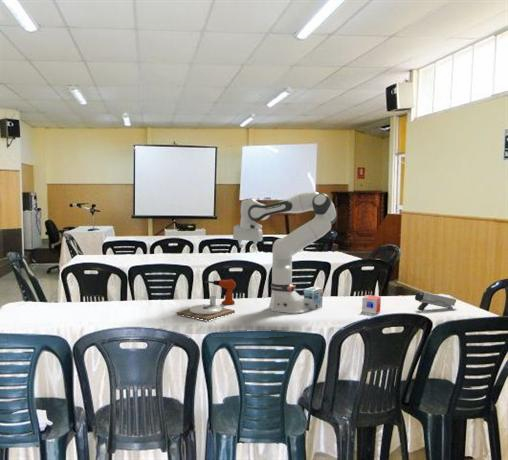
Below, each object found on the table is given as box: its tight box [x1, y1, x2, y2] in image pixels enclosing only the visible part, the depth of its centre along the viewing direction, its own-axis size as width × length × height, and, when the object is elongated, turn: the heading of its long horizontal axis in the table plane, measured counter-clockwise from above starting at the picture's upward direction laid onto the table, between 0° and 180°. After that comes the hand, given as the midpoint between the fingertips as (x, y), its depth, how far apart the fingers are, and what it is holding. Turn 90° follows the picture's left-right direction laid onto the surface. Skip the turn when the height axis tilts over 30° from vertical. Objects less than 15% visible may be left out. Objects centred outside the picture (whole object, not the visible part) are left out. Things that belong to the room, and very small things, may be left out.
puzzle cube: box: [361, 294, 382, 314], centre depth 265 cm, size 8×8×8 cm
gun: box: [414, 291, 457, 311], centre depth 271 cm, size 2×25×10 cm, turn 101°
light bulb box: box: [303, 286, 324, 310], centre depth 272 cm, size 11×7×11 cm, turn 143°
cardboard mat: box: [175, 304, 236, 322], centre depth 255 cm, size 22×22×2 cm
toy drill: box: [204, 278, 237, 306], centre depth 277 cm, size 5×19×15 cm, turn 100°
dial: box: [189, 295, 223, 315], centre depth 255 cm, size 17×17×6 cm
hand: (247, 247), depth 291 cm, fingers open, 8 cm apart
